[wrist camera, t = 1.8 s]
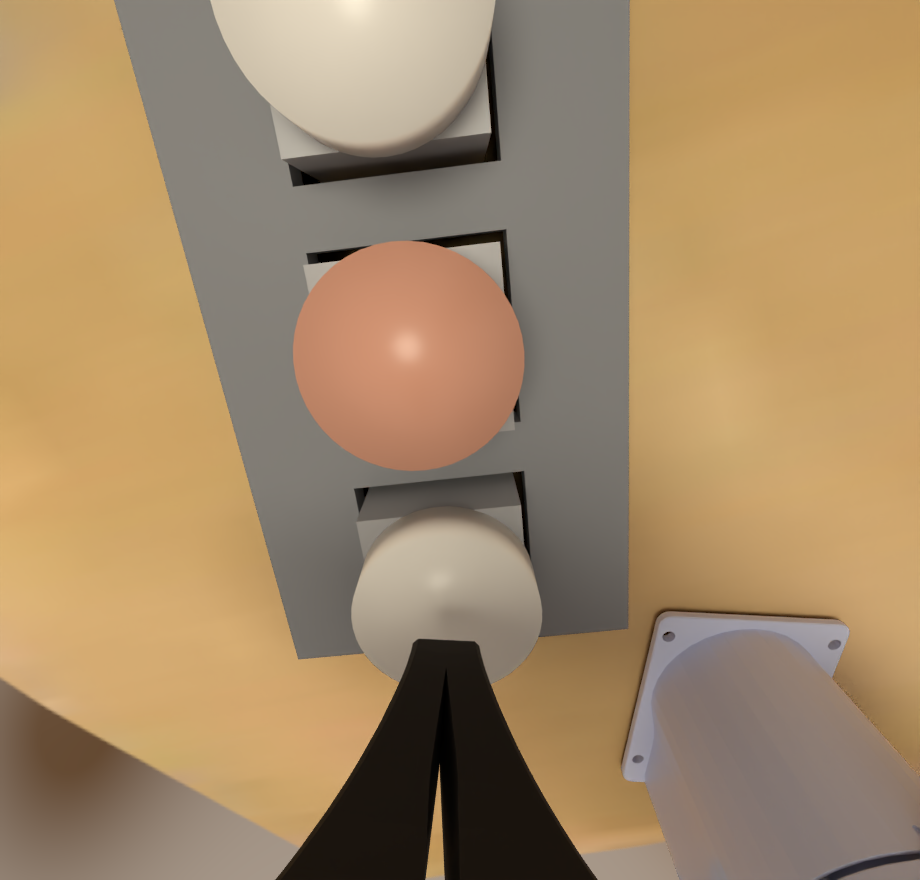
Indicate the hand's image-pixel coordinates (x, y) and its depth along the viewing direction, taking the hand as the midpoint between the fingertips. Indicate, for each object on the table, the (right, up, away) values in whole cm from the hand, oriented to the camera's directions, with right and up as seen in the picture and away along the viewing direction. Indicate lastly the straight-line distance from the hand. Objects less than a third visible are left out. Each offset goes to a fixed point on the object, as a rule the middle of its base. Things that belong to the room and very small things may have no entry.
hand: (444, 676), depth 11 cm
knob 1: (-1, +14, +2) cm, 15 cm away
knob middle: (-1, +8, +4) cm, 9 cm away
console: (-1, +9, +6) cm, 11 cm away
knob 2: (0, +2, +6) cm, 7 cm away
